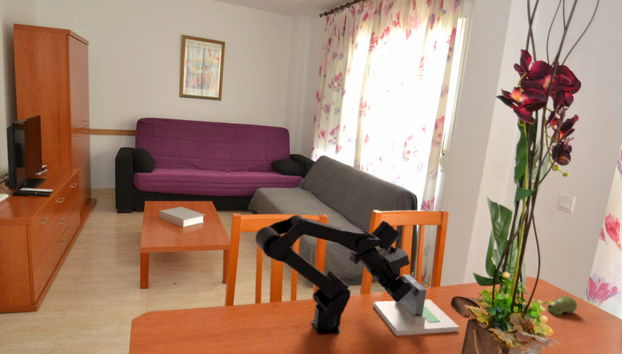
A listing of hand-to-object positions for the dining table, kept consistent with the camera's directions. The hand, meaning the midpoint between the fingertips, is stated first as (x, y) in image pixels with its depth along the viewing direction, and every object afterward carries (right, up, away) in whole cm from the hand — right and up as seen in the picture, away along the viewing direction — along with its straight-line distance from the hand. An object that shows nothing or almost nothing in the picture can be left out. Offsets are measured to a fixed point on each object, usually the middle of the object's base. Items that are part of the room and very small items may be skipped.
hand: (403, 295), depth 122 cm
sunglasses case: (+28, -9, +12) cm, 32 cm away
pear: (+57, -11, +17) cm, 61 cm away
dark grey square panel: (+2, -5, +2) cm, 6 cm away
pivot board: (+4, -8, +3) cm, 9 cm away
